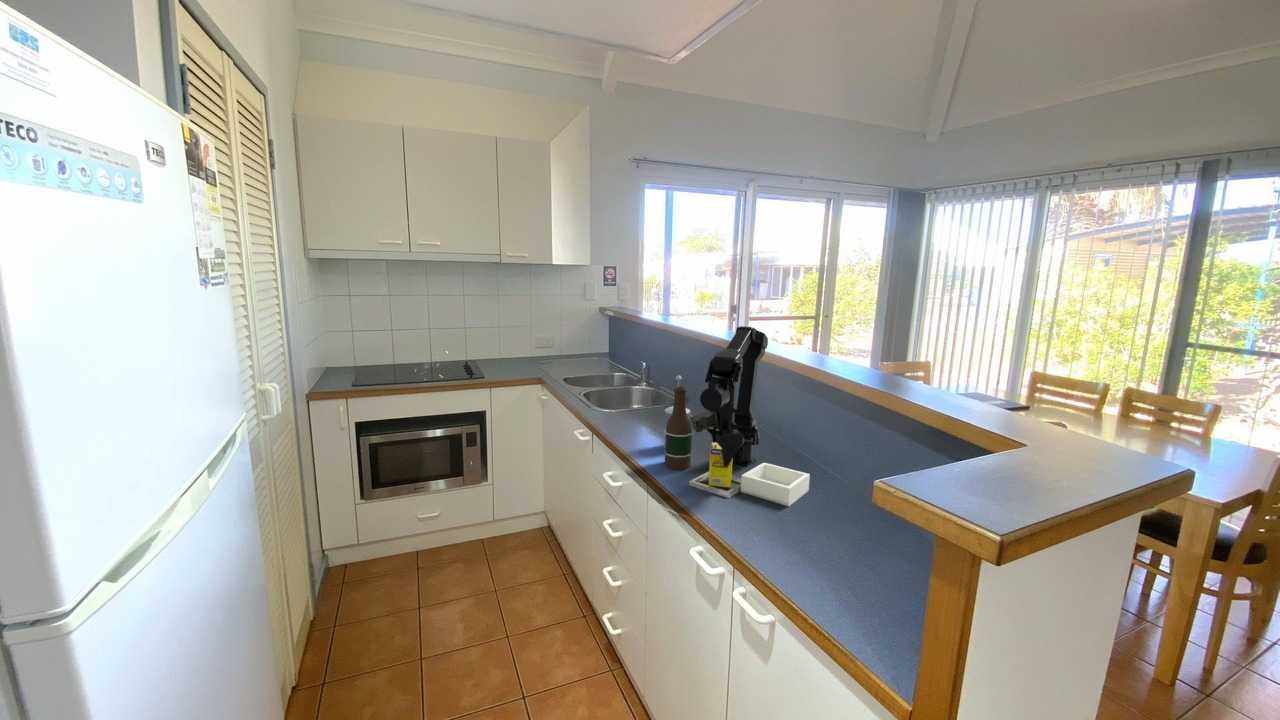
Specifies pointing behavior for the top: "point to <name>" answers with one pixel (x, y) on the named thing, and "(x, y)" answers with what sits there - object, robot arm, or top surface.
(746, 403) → the robot arm
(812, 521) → the top surface
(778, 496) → the bin
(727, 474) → the supplement box
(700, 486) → the collar
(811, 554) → the top surface
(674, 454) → the beer bottle
